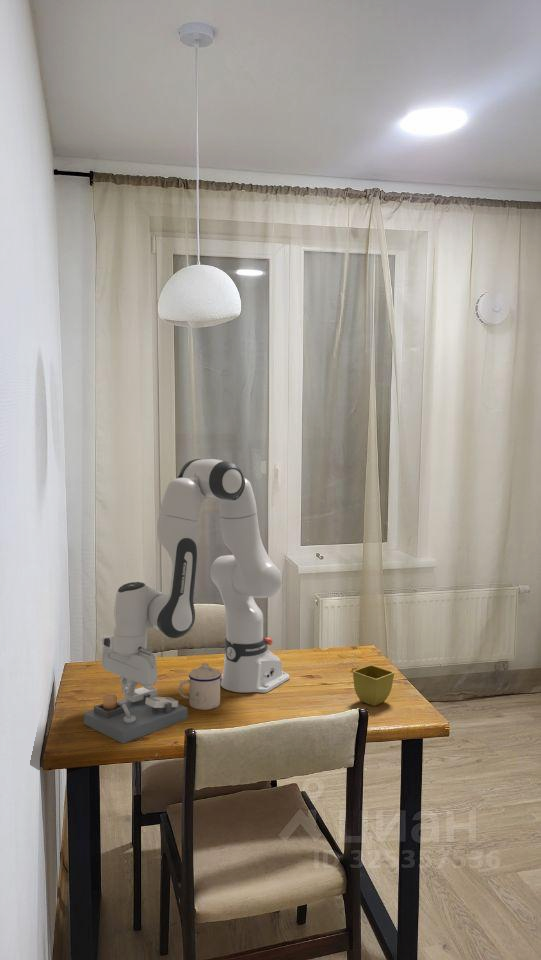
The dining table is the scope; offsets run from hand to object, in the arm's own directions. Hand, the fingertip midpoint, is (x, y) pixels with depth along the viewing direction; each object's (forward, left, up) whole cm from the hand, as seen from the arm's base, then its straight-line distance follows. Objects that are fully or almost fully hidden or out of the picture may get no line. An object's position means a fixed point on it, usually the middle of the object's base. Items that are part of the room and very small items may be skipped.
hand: (128, 693), depth 197 cm
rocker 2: (-4, +9, -1) cm, 10 cm away
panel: (+1, +5, -6) cm, 8 cm away
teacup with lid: (-19, +8, -6) cm, 21 cm away
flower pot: (-55, +42, -6) cm, 69 cm away
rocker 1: (-4, 0, -1) cm, 4 cm away
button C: (+6, +1, -2) cm, 7 cm away
